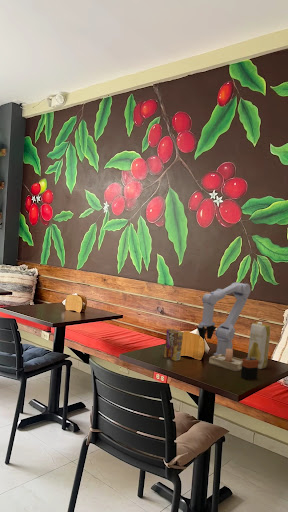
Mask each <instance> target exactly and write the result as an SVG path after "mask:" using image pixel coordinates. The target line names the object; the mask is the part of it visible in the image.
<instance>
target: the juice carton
mask: <svg viewBox="0 0 288 512" xmlns="http://www.w3.org/2000/svg"><path fill="white" fill-rule="evenodd" d="M270 338H271V325H269V324H263V322H262V321H258V322H254V323H251V325H250V333H249V342H248V352H247V358H251V357H255V359H257V360H258V361H259V363H258V370H262V369H265V368H267V365H268V358H269V348H270Z"/></svg>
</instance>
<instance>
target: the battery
mask: <svg viewBox="0 0 288 512" xmlns="http://www.w3.org/2000/svg"><path fill="white" fill-rule="evenodd" d="M242 359H243V362H242V370H240V371H241V375H240V378H242V379H244V380H248V381H249V380H256V379H258V370H259V369H258V363H259V361H258V360H257V359H255V357H251V358H248V357H245V358H242Z"/></svg>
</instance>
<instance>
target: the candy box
mask: <svg viewBox="0 0 288 512" xmlns="http://www.w3.org/2000/svg"><path fill="white" fill-rule="evenodd" d="M165 334H166V335H165V344H164V345H165V346H164V358H167V359H170V360H172V361H175V362H177V361H181V357H182V356H181V355H182V347H183V339H184V338H183V337H184V331H180V330H177V329H174V328H167V329H166V333H165Z"/></svg>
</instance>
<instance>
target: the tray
mask: <svg viewBox="0 0 288 512" xmlns="http://www.w3.org/2000/svg"><path fill="white" fill-rule="evenodd" d="M243 359H244V358H238V357H235V356H232V362H231V363H230V362H227V361H225V355H224V354H219V355H212V356H209V359H208V360H209V361H208V364H210V365H213V366H216V367H219V368H222V369H226V370H230V371H232V372H233V371H234V372H239V371H242V362H243Z"/></svg>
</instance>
